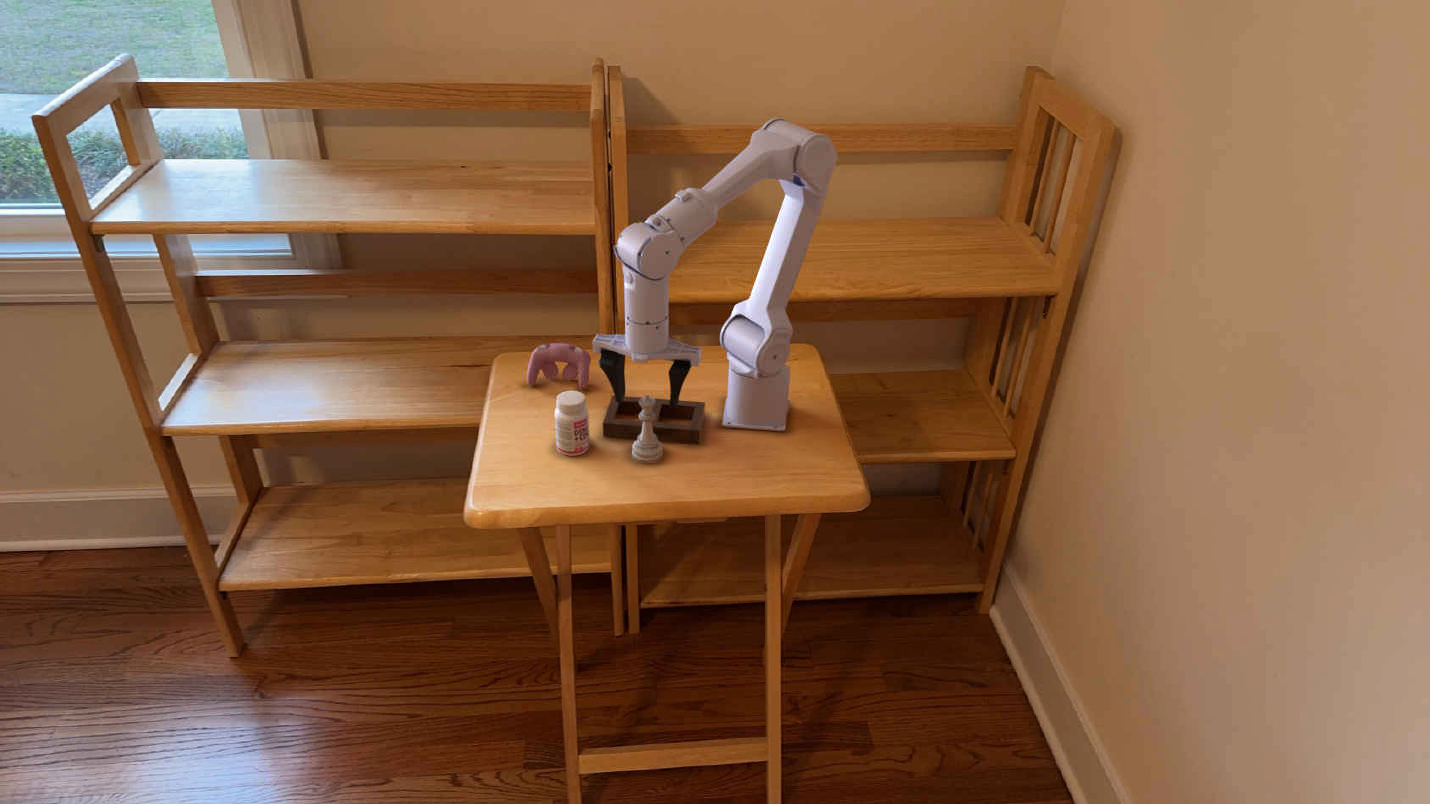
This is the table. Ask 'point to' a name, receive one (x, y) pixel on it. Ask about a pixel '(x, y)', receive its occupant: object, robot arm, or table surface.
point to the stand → (655, 420)
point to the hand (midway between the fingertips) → (647, 402)
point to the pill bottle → (571, 423)
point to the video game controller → (559, 352)
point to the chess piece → (647, 435)
